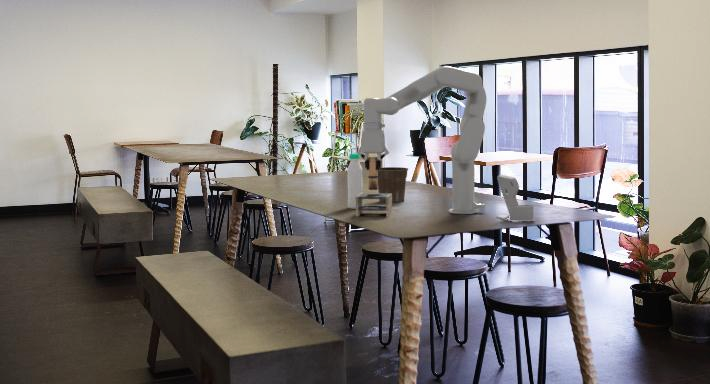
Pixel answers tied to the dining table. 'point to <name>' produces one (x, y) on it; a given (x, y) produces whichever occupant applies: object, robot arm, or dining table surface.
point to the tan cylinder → (372, 173)
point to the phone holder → (513, 200)
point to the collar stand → (361, 207)
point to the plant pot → (392, 183)
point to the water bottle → (354, 180)
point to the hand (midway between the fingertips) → (373, 169)
